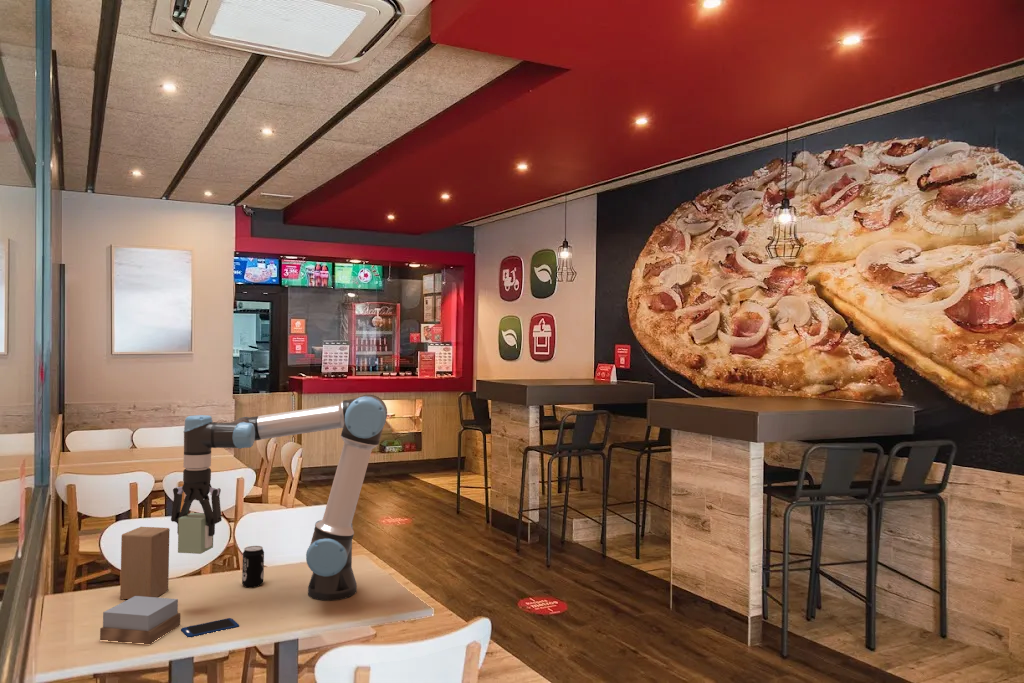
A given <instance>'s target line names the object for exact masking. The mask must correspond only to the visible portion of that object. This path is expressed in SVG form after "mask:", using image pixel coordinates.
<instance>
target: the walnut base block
mask: <svg viewBox="0 0 1024 683" xmlns="http://www.w3.org/2000/svg"><path fill="white" fill-rule="evenodd" d="M179 625H180V626H181V612H178V614H176V615H174V616H173V617H171V618H169V619H168V620H166V621H164V622H163V623H161V624H159V625H157V626H156V627H154V628H152V629H151V630H149V631H141V630H129V629H117V628H104V627H103V626H102V627H100V630H99V631H100V632H99V633H100V634H99V641H100V640H108V641H118V642H132V643H144V644H151V643H152V642H154V641H155V640H157V639H158V638H160V637H161V638H163V637H164V636H166V635H167V634H166V633H168V632H169V633H171V632H172V631H173V629H174V630H175V629H177V628H179ZM176 627H177V628H176ZM171 630H172V631H171ZM170 631H171V632H170ZM169 633H168V634H169ZM165 634H166V635H165ZM163 635H164V636H163ZM162 636H163V637H162ZM161 638H160V639H161ZM158 640H159V639H158ZM158 640H157V641H158ZM155 642H156V641H155ZM155 642H154V643H155ZM152 644H153V643H152ZM152 644H151V645H152Z"/></svg>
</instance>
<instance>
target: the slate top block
mask: <svg viewBox="0 0 1024 683" xmlns="http://www.w3.org/2000/svg"><path fill="white" fill-rule="evenodd" d="M178 613H179V599H178V598H167V597H143V596H134V597H132V598H130V599H128V600H125V601H123V602H122V601H121V602H120V603H119V604H117V605H115V606H113V607H111V608H108V609H107V610H105V611H103V613H102V627H104V628H117V629H129V630H141V631H149V630H151V629H152V628H154V627H156V626H157V625H159V624H161V623H163V622H164V621H166V620H168V619H169V618H171V617H173V616H174V615H176V614H178Z"/></svg>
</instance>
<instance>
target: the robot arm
mask: <svg viewBox="0 0 1024 683" xmlns="http://www.w3.org/2000/svg"><path fill="white" fill-rule="evenodd" d="M387 417H388V408H387V406H386V403H385V402H384V400H382V398H380V397H379V396H376V395H374V394H363V395H361V396H360V395H359V396H358V397H355V398H350V399H345V400H344V399H343V400H341V401H340V402H339V403H337V404H331V405H324V406H318V407H310V408H304V409H298V410H291V411H284V412H277V413H269V414H262V415H257V416H250V417H249V416H243V417H239V418H238V419H235V420H234V421H231V422H216V421H215V422H214V421H213V418H212V416H211V415H207V414H206V415H205V414H197V415H196V414H195V415H194V414H193V415H189V416H186V417H185V419H184V428H183V466H182V467H183V468H184V469H183V474H182V476H183V477H182V481H183V484H182V485H181V486H177V487H174V488H173V489H172V492H173V493H172V494H173V501H172V502H173V503H172V511H171V516H170V521H171V522H172V523H173V522H174V523H176V524H177V525H178V520H179V518H180V517H183V516H185V515H188V514H189V511H190V509H191V506H192V503H193V502H194V501H198V502H199V504H200V505H201V507H202V510H203V513H204V514H205V517H206V520H207V523H208V524H207V525H206V526H205V548H208V547H210V546H212V536H213V537H214V535H215V534H216V532H215V531H216V528H215V527H216V524H218V523H220V522H222V509H221V500H220V499H221V498H220V495H221V488H220V487H219V488H218V487H217V488H214V487H212V485H211V479H212V469H211V468H210V467H212V449H217V448H218V449H220V448H221V449H239V450H240V449H244V448H245V449H247V448H252V447H253V446H254V443H255V441H262V440H266V439H268V440H269V439H275V438H282V437H289V436H295V435H301V434H310V433H316V432H322V431H330V430H337V429H342V430H341V433H340V438H341V439H342V441H343V445H342V448H341V449H342V450H341V452H340V456H339V459H338V463H337V467H336V470H335V474H334V477H333V481H332V485H331V488H330V492H329V496H328V499H327V503H326V506H325V509H324V513H323V517H322V519H320V520H318V521H316V522H315V524H314V528H313V529H314V530H313V533H312V537H311V540H310V543H309V544H310V545H309V546H308V548H307V550H306V552H305V553H306V554H305V558H306V564H307V567H308V568H309V570H310V571H311V572H312V575H311V577H310V580H309V583H308V586H307V595H308V597H310V598H311V597H312V599H315V600H320V601H321V600H322V601H337V600H338V601H339V600H342V599H347V598H350V597H353V596H355V594H356V593H357V590H358V589H357V587H358V585H357V581H356V577H355V573H354V571H353V567H352V566H353V565H352V564H353V559H352V558H353V555H352V554H353V538H354V535H355V531H354V528H353V521H354V516H355V513H356V509H357V505H358V501H359V498H360V493H361V490H362V487H363V484H364V480H365V477H366V472H367V468H368V465H369V462H370V458H371V455H372V452H373V449H375V448H376V447H379V445H380V441H381V437H382V434H383V430H384V427H385V424H386V422H387V421H386V420H387ZM183 493H184V494H185V497H184V499H183ZM209 494H210V496H211V502H210V496H209ZM182 500H183V504H182ZM176 530H177V534H178V529H176Z"/></svg>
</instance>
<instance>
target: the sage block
mask: <svg viewBox="0 0 1024 683" xmlns="http://www.w3.org/2000/svg"><path fill="white" fill-rule="evenodd" d="M207 524H208V523H207V520H206V517H205V514H204V512H190V513H188V514H187V515H185V516H183V517H180V518H179V520H178V524H177V530H178V533H177V535H178V536H177V553H179V554H194V555H195V554H198V555H201V554H203V553H205V552H207V551H209V550H211V549H212V548H214V535H213V536H212V546H210V547H208V548H205V526H206V525H207Z"/></svg>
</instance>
